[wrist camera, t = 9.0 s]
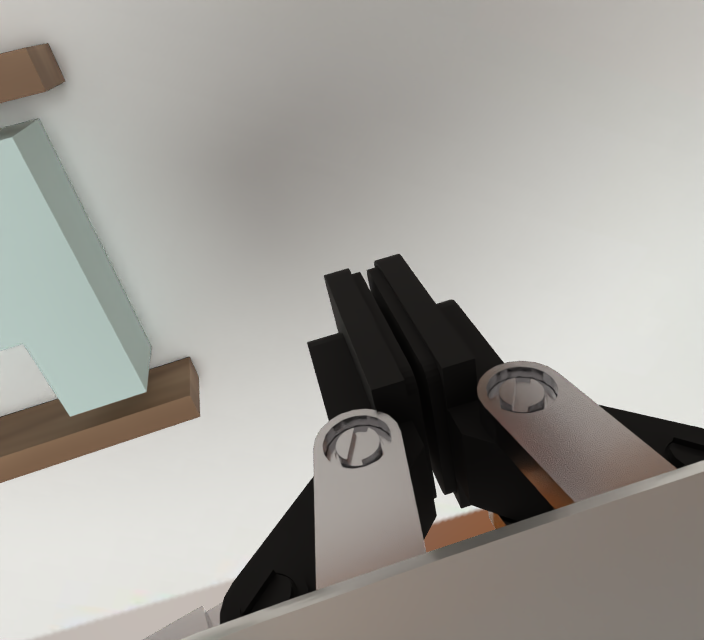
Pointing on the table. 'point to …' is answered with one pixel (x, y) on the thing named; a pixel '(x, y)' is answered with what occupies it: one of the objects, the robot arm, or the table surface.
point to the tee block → (62, 282)
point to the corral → (51, 418)
